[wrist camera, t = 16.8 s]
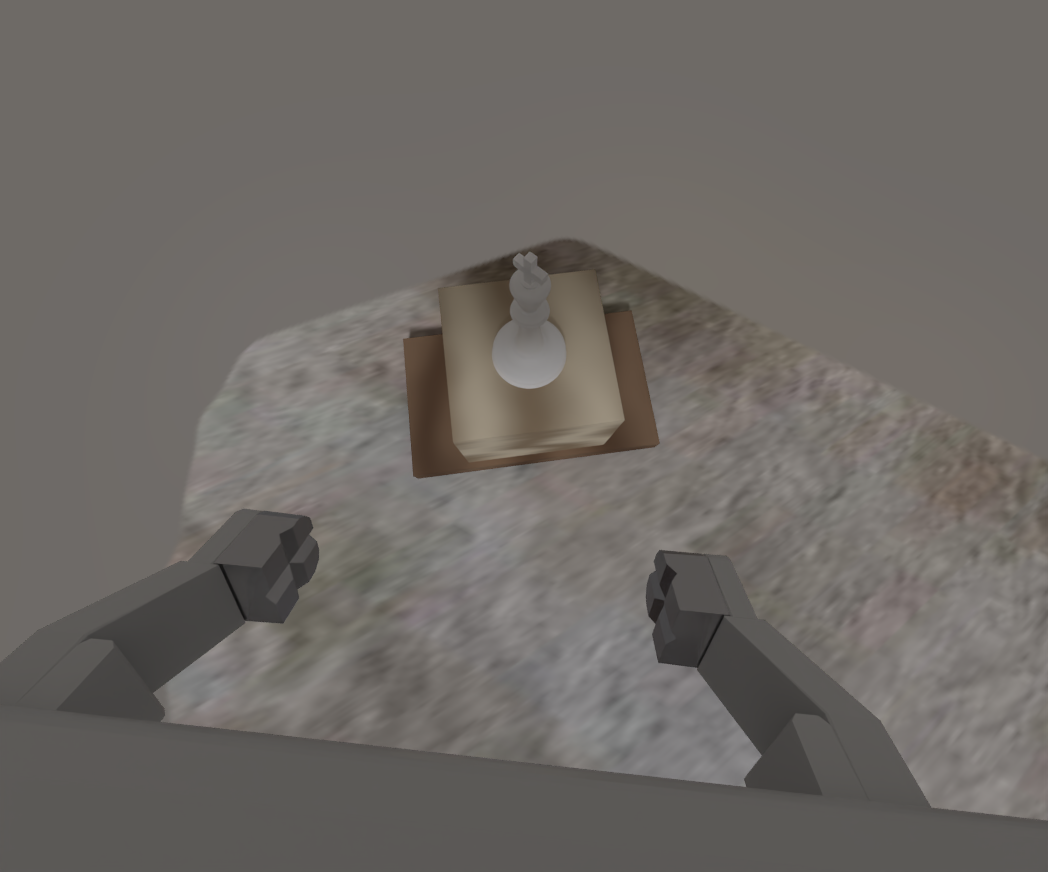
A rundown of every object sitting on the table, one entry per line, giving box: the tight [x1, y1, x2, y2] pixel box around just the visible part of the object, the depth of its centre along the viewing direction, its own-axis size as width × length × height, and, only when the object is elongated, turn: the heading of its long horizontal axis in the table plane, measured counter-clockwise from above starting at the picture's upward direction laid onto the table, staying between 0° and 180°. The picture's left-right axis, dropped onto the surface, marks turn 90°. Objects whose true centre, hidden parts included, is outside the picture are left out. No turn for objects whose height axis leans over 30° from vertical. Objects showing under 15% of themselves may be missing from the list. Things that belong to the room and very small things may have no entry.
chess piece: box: [492, 251, 566, 389], centre depth 23 cm, size 5×5×10 cm
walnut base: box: [403, 269, 659, 478], centre depth 32 cm, size 20×12×9 cm, turn 98°
